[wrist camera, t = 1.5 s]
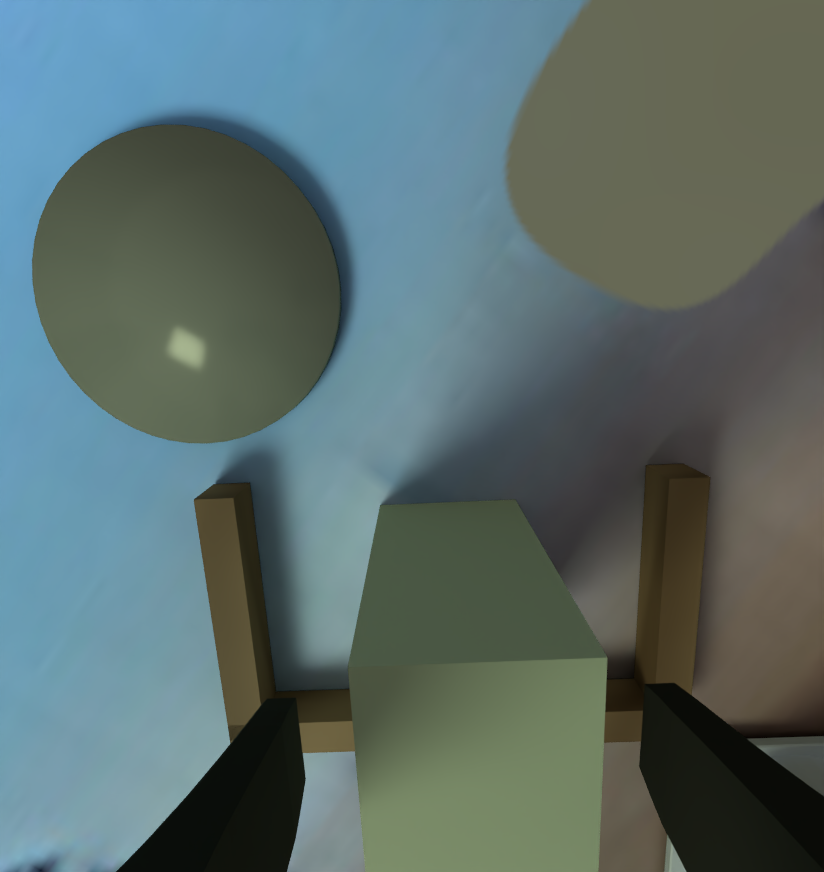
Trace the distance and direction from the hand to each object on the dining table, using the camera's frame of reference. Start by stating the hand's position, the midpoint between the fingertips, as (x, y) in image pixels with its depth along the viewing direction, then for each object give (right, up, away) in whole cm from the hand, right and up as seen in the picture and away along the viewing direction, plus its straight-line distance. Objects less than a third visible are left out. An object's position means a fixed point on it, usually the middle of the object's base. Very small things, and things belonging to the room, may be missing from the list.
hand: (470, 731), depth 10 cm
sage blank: (0, +1, +7) cm, 7 cm away
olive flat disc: (-8, +10, +5) cm, 14 cm away
